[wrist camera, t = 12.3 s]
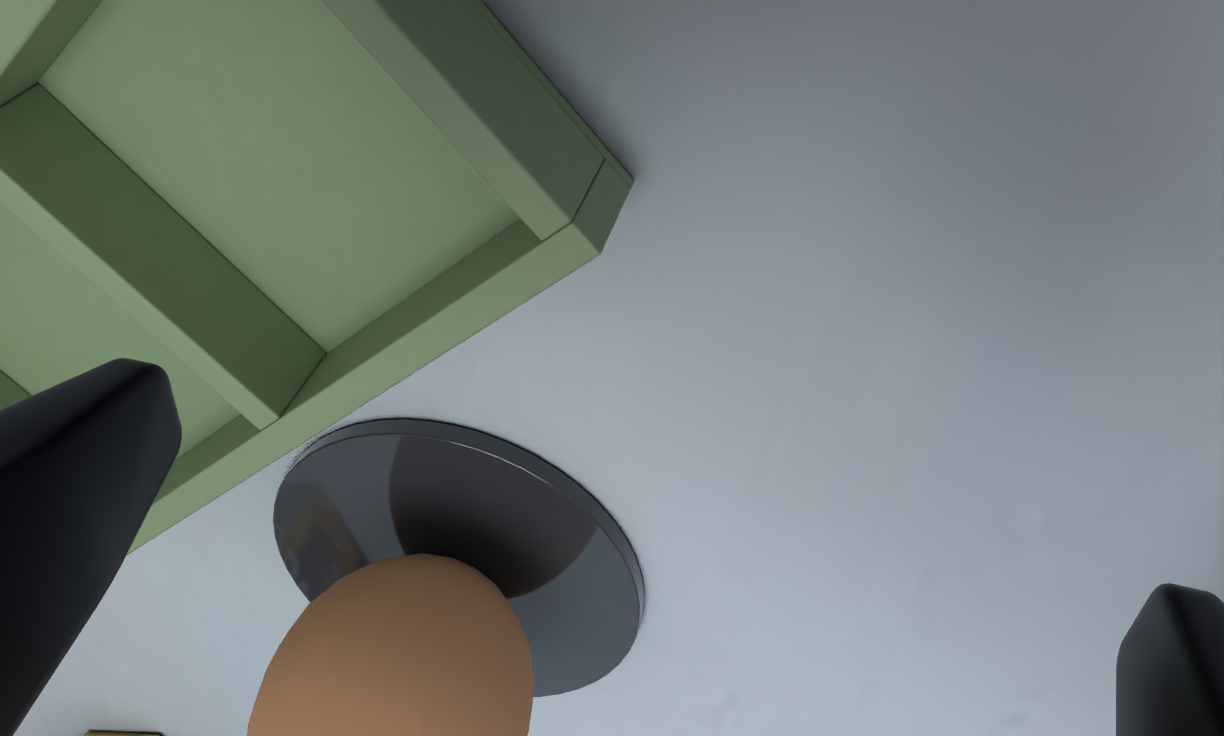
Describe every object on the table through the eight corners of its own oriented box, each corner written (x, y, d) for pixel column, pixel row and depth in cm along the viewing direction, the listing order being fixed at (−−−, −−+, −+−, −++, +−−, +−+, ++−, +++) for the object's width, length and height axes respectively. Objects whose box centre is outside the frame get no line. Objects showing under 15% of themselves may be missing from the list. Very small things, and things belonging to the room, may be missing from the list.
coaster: (723, 625, 29) (719, 643, 29) (465, 713, 35) (459, 729, 35) (451, 355, 25) (442, 370, 25) (213, 505, 31) (202, 519, 31)
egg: (304, 558, 31) (121, 859, 24) (424, 455, 27) (246, 781, 20) (481, 680, 33) (358, 994, 26) (617, 601, 29) (515, 946, 22)
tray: (635, 181, 21) (602, 254, 19) (155, 502, 32) (99, 573, 30) (252, -270, 18) (159, -241, 16) (-144, 261, 28) (-232, 322, 26)
